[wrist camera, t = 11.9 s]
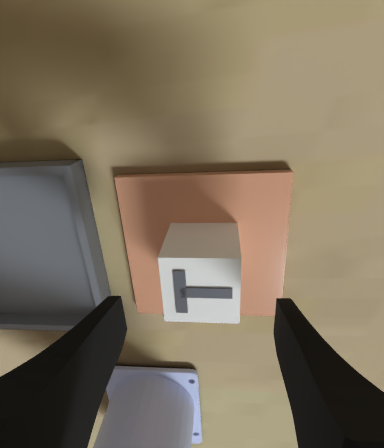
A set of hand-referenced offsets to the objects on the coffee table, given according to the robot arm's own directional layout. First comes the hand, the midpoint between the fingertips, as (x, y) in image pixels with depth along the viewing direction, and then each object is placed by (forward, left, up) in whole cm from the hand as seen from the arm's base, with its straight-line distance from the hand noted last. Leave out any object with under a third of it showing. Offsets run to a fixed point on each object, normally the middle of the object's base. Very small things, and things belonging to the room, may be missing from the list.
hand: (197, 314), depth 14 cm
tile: (0, 0, -6) cm, 6 cm away
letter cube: (0, 0, -5) cm, 5 cm away
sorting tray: (0, +17, -6) cm, 18 cm away
